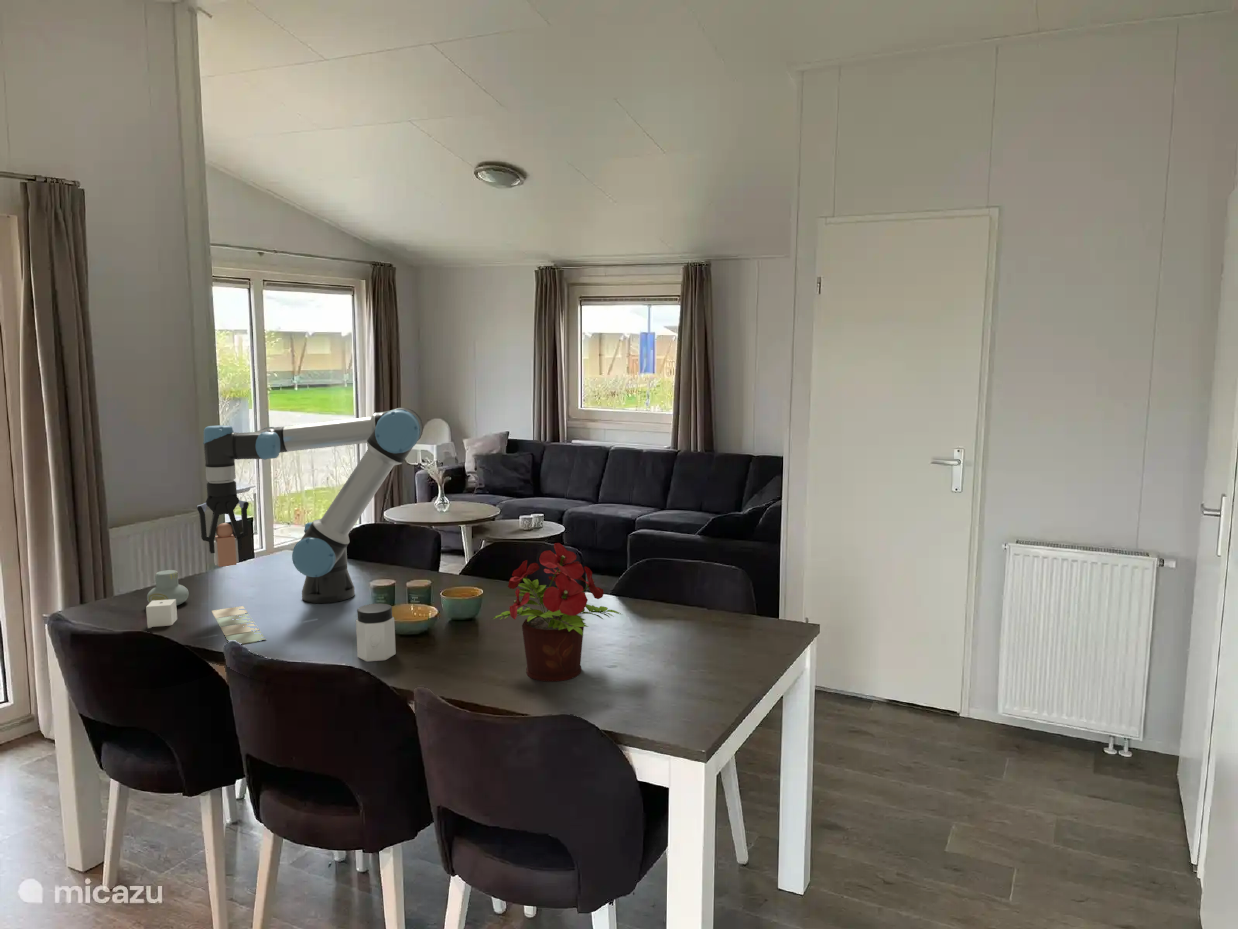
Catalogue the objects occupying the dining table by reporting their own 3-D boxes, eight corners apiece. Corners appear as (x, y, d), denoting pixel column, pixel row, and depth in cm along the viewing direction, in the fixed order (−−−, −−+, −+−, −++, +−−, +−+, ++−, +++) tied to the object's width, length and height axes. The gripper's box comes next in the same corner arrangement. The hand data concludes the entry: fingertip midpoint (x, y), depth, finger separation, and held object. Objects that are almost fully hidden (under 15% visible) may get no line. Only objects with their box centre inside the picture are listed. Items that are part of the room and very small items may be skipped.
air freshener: (194, 602, 264) (192, 569, 263) (176, 610, 256) (173, 576, 255) (161, 600, 266) (159, 568, 264) (142, 608, 258) (139, 575, 256)
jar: (356, 663, 212) (354, 614, 210) (358, 652, 220) (356, 604, 218) (395, 660, 214) (393, 611, 212) (396, 649, 222) (394, 602, 220)
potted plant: (518, 699, 189) (515, 561, 185) (484, 659, 214) (481, 536, 210) (644, 678, 201) (643, 548, 197) (598, 642, 225) (597, 526, 221)
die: (177, 620, 247) (175, 598, 246) (171, 626, 241) (170, 604, 240) (153, 621, 245) (151, 600, 245) (146, 628, 240) (145, 606, 239)
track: (243, 607, 259) (243, 606, 259) (266, 640, 229) (266, 639, 229) (211, 611, 254) (211, 610, 254) (230, 646, 224) (230, 645, 224)
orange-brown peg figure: (234, 561, 254) (231, 520, 252) (236, 564, 250) (233, 523, 249) (216, 563, 252) (214, 522, 250) (219, 566, 248) (216, 525, 246)
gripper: (252, 476, 255) (257, 556, 258) (184, 482, 246) (190, 564, 249) (257, 480, 249) (262, 561, 252) (187, 485, 240) (193, 570, 243)
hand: (226, 562), depth 251 cm, fingers closed on orange-brown peg figure, 4 cm apart
